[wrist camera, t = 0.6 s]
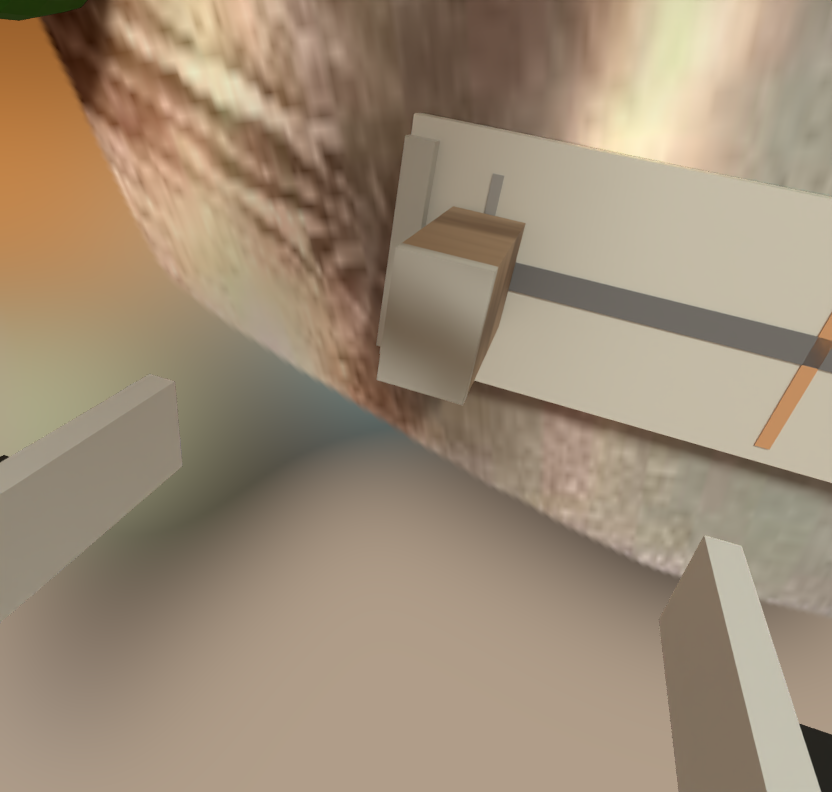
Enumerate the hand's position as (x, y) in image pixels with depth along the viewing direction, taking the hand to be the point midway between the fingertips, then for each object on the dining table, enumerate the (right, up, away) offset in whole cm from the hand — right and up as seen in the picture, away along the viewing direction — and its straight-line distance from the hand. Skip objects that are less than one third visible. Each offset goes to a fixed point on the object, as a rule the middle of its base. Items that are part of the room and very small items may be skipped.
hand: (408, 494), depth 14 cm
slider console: (+14, +8, +17) cm, 23 cm away
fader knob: (+4, +10, +17) cm, 20 cm away
